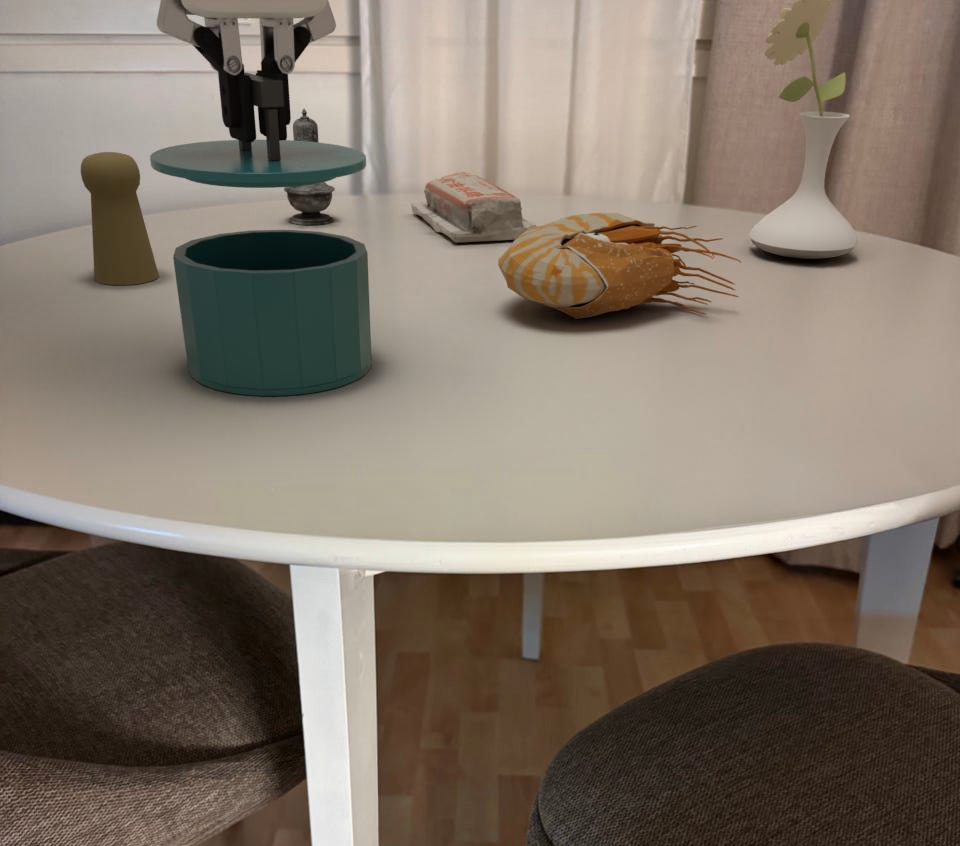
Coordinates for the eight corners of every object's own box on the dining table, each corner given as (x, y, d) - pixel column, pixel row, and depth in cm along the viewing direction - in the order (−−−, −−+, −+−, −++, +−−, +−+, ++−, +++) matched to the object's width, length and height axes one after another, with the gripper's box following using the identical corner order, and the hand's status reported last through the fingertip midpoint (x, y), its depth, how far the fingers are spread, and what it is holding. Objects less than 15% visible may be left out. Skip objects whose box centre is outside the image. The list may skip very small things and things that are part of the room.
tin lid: (196, 200, 65) (184, 92, 62) (124, 164, 75) (110, 69, 72) (404, 183, 72) (403, 84, 69) (312, 152, 82) (307, 65, 79)
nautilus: (730, 300, 101) (739, 357, 89) (506, 275, 102) (485, 327, 90) (748, 213, 96) (761, 260, 84) (513, 188, 98) (492, 231, 85)
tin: (230, 408, 73) (215, 282, 68) (164, 355, 83) (147, 241, 78) (402, 376, 79) (399, 258, 75) (323, 330, 89) (316, 223, 84)
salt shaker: (304, 227, 123) (296, 112, 116) (276, 219, 127) (267, 107, 120) (346, 221, 126) (340, 109, 120) (318, 213, 130) (311, 104, 123)
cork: (110, 268, 105) (90, 147, 100) (168, 271, 105) (152, 149, 99) (83, 283, 100) (60, 156, 95) (144, 286, 100) (124, 159, 94)
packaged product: (540, 194, 116) (453, 199, 114) (538, 241, 119) (453, 246, 116) (487, 168, 131) (409, 171, 128) (487, 210, 133) (410, 213, 131)
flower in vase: (815, 240, 121) (861, -16, 108) (876, 263, 112) (934, -14, 99) (714, 247, 118) (748, -18, 104) (769, 271, 109) (813, -15, 95)
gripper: (324, -186, 69) (337, 126, 79) (78, -211, 62) (127, 137, 72) (379, -196, 64) (385, 140, 74) (117, -224, 56) (164, 153, 66)
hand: (258, 136), depth 73 cm, fingers closed on tin lid, 1 cm apart
